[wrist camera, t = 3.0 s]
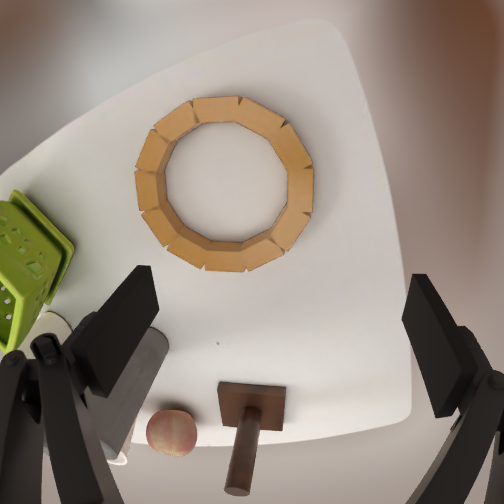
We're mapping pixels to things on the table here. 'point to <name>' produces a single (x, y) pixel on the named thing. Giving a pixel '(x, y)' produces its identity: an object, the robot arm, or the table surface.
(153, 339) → the flask
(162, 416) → the apple
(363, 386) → the table surface
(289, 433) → the table surface
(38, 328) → the can
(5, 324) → the flower pot
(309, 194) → the hoop
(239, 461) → the peg stand
